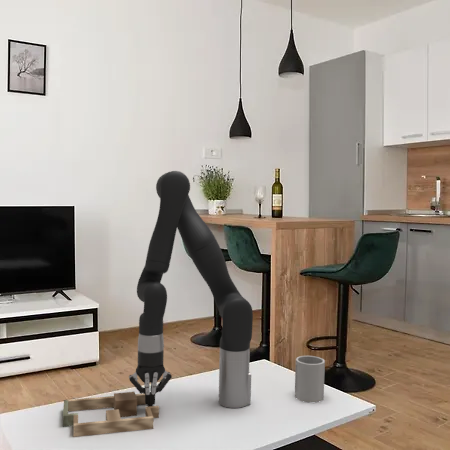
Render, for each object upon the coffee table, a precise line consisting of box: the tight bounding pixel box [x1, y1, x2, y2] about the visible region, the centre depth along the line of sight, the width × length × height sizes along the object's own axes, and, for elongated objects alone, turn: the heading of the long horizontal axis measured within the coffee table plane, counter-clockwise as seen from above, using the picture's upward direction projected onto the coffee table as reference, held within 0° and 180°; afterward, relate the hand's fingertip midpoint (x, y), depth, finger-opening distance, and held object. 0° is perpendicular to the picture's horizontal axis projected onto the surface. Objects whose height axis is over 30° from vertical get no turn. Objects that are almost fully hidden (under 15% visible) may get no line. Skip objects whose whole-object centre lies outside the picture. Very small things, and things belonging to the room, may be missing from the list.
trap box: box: [62, 393, 160, 438], centre depth 148 cm, size 26×18×3 cm
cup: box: [294, 355, 326, 403], centre depth 167 cm, size 9×9×12 cm
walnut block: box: [113, 391, 138, 419], centre depth 153 cm, size 6×6×5 cm
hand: (149, 405), depth 155 cm, fingers closed
